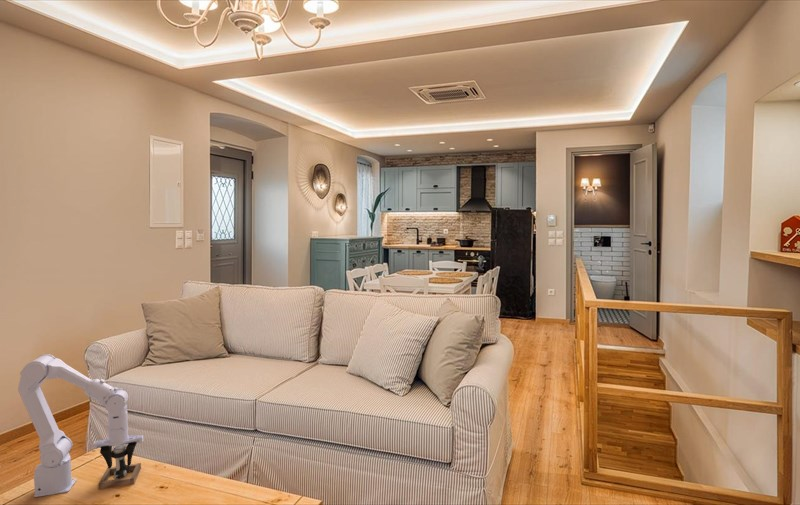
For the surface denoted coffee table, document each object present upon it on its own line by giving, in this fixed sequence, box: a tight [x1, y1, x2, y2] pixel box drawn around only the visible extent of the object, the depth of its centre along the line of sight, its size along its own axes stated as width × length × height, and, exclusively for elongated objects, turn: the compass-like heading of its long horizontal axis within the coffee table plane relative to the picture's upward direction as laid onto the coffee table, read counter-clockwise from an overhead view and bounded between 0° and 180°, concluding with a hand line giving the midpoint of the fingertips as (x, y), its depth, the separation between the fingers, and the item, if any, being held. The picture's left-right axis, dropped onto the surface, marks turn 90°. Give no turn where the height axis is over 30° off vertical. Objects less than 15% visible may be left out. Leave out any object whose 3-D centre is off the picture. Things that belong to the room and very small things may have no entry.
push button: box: [111, 444, 130, 480], centre depth 160 cm, size 7×5×10 cm
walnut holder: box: [97, 462, 142, 491], centre depth 161 cm, size 10×11×2 cm
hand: (119, 465), depth 160 cm, fingers closed on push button, 5 cm apart
